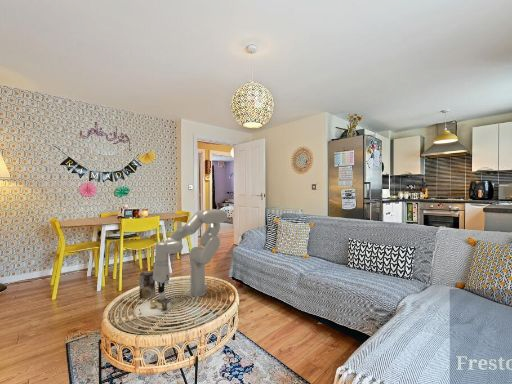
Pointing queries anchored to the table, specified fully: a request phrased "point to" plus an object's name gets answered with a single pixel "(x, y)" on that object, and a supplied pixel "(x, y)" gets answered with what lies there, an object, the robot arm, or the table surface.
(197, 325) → the table surface
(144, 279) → the coffee box
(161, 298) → the lock button
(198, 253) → the robot arm
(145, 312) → the dial plate
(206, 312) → the table surface
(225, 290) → the table surface
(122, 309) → the table surface
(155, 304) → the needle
